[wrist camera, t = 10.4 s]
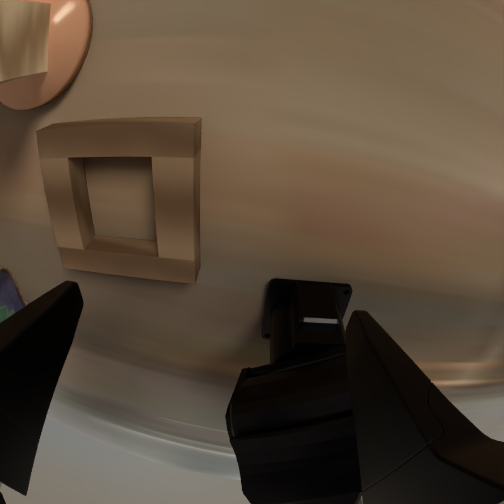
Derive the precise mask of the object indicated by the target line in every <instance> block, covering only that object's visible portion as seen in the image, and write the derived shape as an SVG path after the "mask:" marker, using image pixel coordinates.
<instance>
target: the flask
mask: <svg viewBox="0 0 504 504" xmlns="http://www.w3.org/2000/svg"><path fill="white" fill-rule="evenodd" d="M26 305H28V304H27V302H26V301H25V300H24V299H23V298H22V293H21V292H20V291H19V289H18V285H17V284H16V281H15V279H14V276H13V275H12V273H10V271H9V270H8V269H7V268H6V269H5V268H2V269H0V323H1V322H2V321H4V320H5V319H7V318H8V317H10V316H11V315H13V314H14V313H16V312H17V311H19V310H20V309H22V308H23V307H25V306H26Z"/></svg>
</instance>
